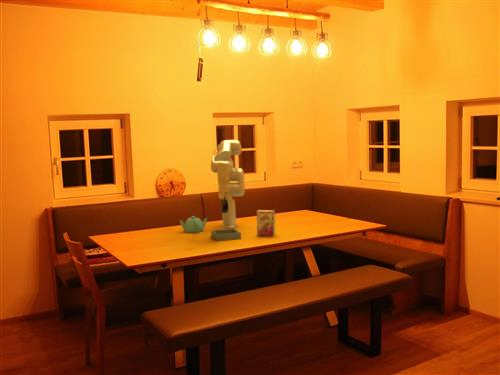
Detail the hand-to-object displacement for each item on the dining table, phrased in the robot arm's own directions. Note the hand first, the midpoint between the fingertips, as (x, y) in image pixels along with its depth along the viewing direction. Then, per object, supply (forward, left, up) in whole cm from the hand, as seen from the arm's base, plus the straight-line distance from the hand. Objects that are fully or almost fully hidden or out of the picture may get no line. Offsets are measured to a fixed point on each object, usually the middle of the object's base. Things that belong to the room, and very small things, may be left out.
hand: (224, 208), depth 334 cm
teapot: (-32, -15, -19) cm, 40 cm away
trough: (0, 0, -19) cm, 19 cm away
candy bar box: (+5, +26, -19) cm, 33 cm away
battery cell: (0, 0, -2) cm, 2 cm away
